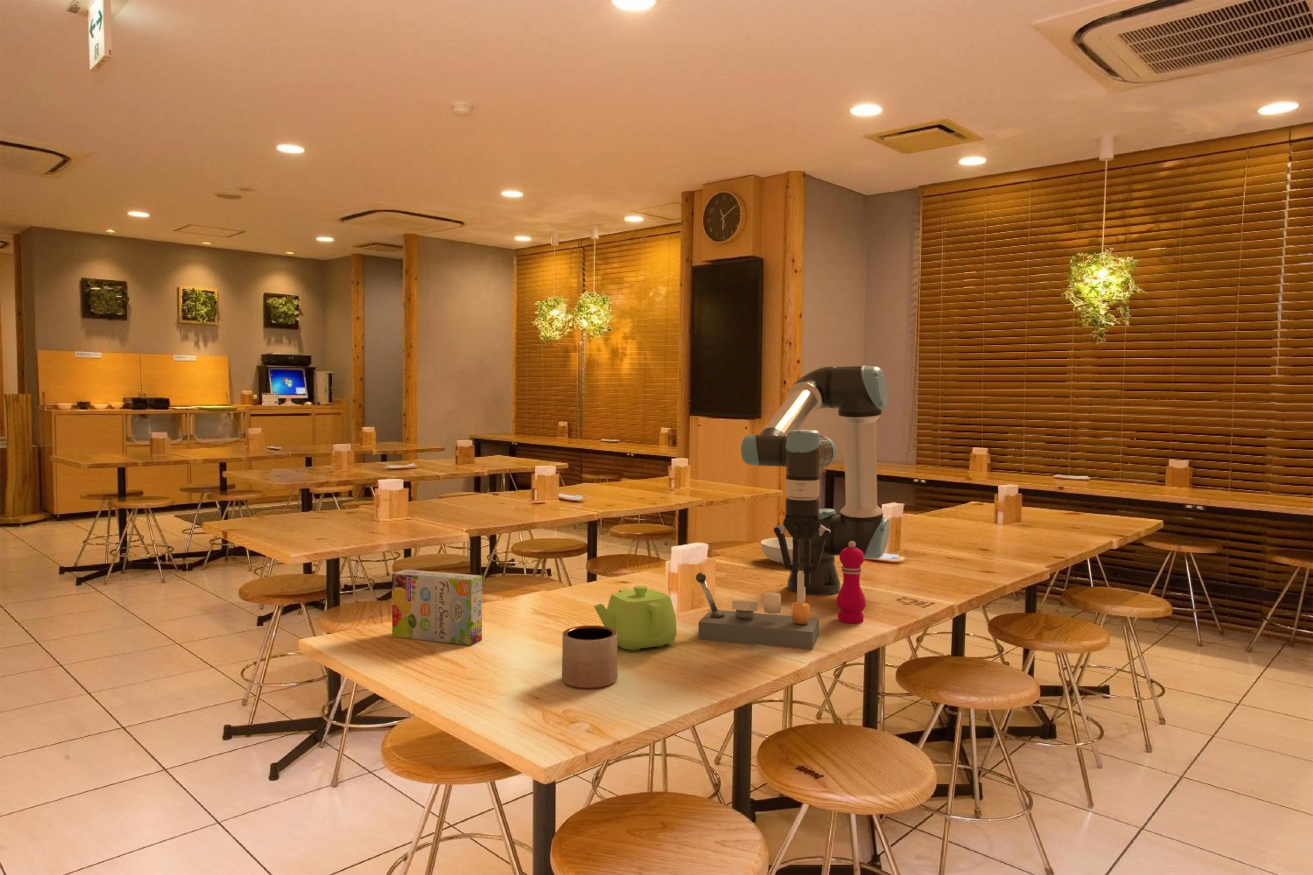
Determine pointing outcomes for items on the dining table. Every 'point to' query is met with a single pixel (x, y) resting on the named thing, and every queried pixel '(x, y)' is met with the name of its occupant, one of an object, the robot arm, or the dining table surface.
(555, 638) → the dining table surface
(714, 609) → the lever
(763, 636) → the console
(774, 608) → the button cream
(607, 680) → the planter
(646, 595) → the teapot
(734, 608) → the rocker
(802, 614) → the button orange
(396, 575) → the snack box
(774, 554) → the serving bowl
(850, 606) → the pepper mill
